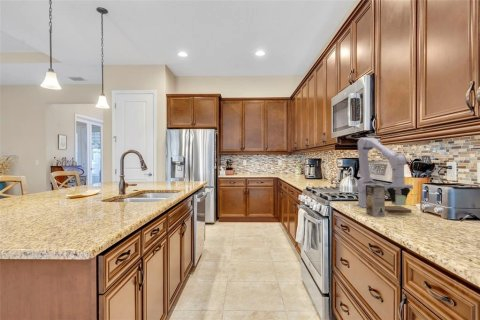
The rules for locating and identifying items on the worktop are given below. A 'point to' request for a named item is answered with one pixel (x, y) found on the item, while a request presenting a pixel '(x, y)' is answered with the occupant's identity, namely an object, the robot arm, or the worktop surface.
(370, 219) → the worktop surface
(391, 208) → the walnut board
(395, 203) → the sage block
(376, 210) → the coffee box
